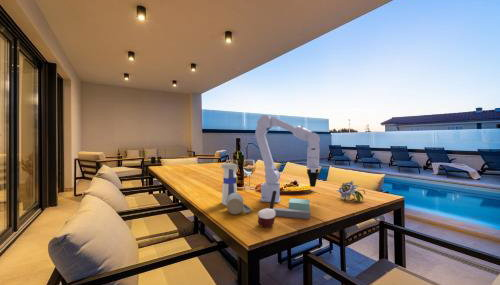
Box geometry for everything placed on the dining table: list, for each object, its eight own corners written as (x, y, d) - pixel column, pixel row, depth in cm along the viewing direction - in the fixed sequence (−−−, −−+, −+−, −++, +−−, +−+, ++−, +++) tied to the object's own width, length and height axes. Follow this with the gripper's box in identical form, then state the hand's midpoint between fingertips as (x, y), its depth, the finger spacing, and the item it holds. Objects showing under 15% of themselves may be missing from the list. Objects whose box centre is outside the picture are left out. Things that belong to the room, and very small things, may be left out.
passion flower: (344, 209, 118) (331, 189, 123) (356, 203, 123) (344, 184, 128) (359, 202, 109) (344, 181, 114) (372, 196, 114) (358, 175, 119)
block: (288, 211, 99) (288, 202, 99) (290, 206, 106) (290, 198, 106) (309, 213, 97) (309, 204, 97) (309, 208, 104) (309, 199, 104)
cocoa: (259, 231, 78) (259, 198, 77) (252, 224, 84) (252, 193, 83) (283, 226, 82) (282, 194, 81) (274, 219, 88) (274, 189, 87)
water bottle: (235, 199, 116) (235, 151, 115) (239, 204, 108) (240, 153, 107) (219, 201, 113) (220, 152, 113) (223, 205, 105) (223, 153, 105)
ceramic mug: (226, 215, 92) (226, 197, 92) (226, 209, 100) (226, 192, 100) (251, 215, 93) (252, 197, 93) (249, 209, 101) (249, 192, 101)
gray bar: (272, 215, 93) (272, 209, 93) (273, 213, 95) (273, 207, 95) (309, 219, 89) (310, 213, 89) (309, 217, 92) (309, 211, 91)
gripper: (322, 159, 101) (321, 188, 101) (320, 156, 115) (320, 182, 115) (306, 158, 103) (306, 187, 103) (306, 155, 117) (306, 181, 117)
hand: (312, 184), depth 109 cm, fingers open, 7 cm apart
